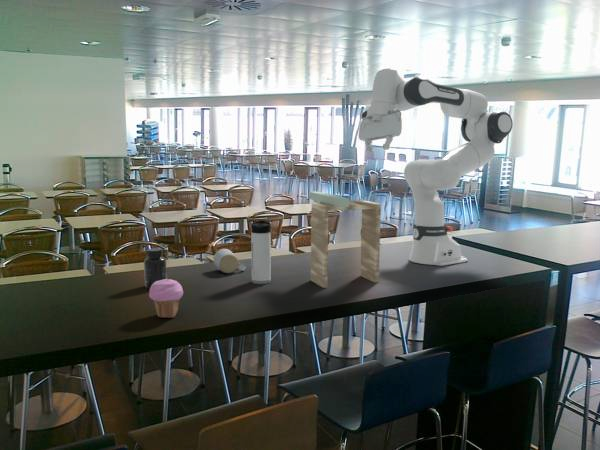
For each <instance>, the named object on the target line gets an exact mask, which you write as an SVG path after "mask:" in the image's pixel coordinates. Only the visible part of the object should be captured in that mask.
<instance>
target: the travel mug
mask: <svg viewBox="0 0 600 450" xmlns="http://www.w3.org/2000/svg"><path fill="white" fill-rule="evenodd" d="M250 227H251V235H250V236H251V238H250V239H251V241H250V242H251V244H250V245H251V248H250V250H251V251H250V252H251V254H250V255H251V260H250V261H251V283H252V284H254V285H267V284H270V283H271V281H272V278H271V277H272V275H271V274H272V273H271V271H272V270H271V267H272V266H271V265H272V262H271V261H272V259H271V258H272V254H271V250H272V249H271V248H272V247H271V246H272V245H271V243H272V242H271V232H272V231H271V222H270V221H266V220H263V219H262V220H261V219H260V220H259V221H254V222H251V226H250Z"/></svg>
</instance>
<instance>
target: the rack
mask: <svg viewBox="0 0 600 450" xmlns="http://www.w3.org/2000/svg"><path fill="white" fill-rule="evenodd" d="M381 207H382V203H378V202H373V201H369V200H349V207H338V206H334V205H330V204H326V203H323V202H319V201H318V202H311V218H310V219H311V229H310V231H311V233H310V234H311V236H310V238H311V239H310V281H311V282H313V283H315V284H316V285H318V286H319V287H320V288H323V289H327V288H328V276H329V275H328V269H329V267H328V266H329V263H328V262H329V259H328V257H329V212H331V211H332V212H333V211H336V212H337V211H355V210H357V211H358V210H361V229H360V230H361V234H360V235H361V236H360V243H361V245H360V273H359V275H360V277H362V278H364V279H366V280H368V281H370V282H373V283H375V284H376V283H379V281H380V254H381V253H380V251H381V250H380V247H381V245H380V244H381V241H380V240H381V213H382V212H381V211H382V208H381Z"/></svg>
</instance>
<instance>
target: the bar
mask: <svg viewBox="0 0 600 450" xmlns="http://www.w3.org/2000/svg"><path fill="white" fill-rule="evenodd" d="M309 200H312V201H316V202H318V203H319V202H323V203H326V204H330V205H334V206H338V207H349V201H350V198H348V197H346V196H345V197H344V196H341V195H339V196H338V195H336V194H332V193H331V194H330V193H327V192H321V191H309Z"/></svg>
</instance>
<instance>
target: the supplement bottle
mask: <svg viewBox="0 0 600 450" xmlns="http://www.w3.org/2000/svg"><path fill="white" fill-rule="evenodd" d="M143 267H144V268H143V270H144V273H143V274H144V286H145V288H146V289H149V290H150V288H151V285H152V284H153V283H154V282H156V281H160V280H163V279H168V274H167V272H168V271H167V270H168V269H167V259H166V258H165V257H164V256H163V249H162V248H158V247H156V248H155V247H153V248H148V249H146V258H145V259H144V261H143Z"/></svg>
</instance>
